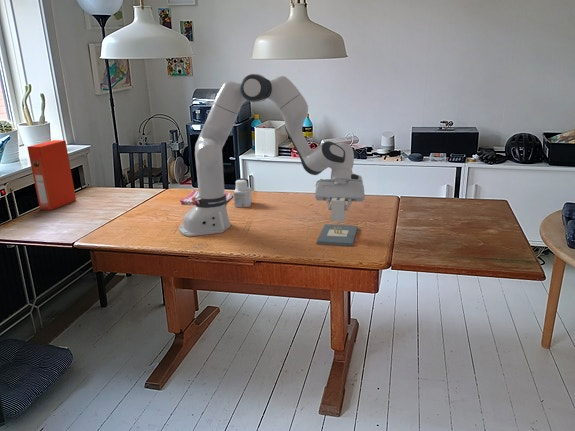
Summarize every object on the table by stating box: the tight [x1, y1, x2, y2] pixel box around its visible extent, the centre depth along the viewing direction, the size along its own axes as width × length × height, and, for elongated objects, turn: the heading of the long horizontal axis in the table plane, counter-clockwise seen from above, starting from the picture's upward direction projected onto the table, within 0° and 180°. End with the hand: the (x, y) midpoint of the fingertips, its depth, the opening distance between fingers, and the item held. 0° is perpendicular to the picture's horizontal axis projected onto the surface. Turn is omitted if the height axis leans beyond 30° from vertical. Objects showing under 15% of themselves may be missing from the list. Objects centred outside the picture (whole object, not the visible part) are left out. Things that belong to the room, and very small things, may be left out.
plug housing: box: [330, 198, 346, 223], centre depth 205 cm, size 4×5×9 cm
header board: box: [316, 223, 358, 247], centre depth 207 cm, size 20×14×4 cm
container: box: [233, 177, 253, 208], centre depth 251 cm, size 8×8×13 cm
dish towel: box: [179, 189, 234, 206], centre depth 262 cm, size 17×23×4 cm
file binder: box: [26, 139, 77, 211], centre depth 257 cm, size 8×17×32 cm, turn 161°
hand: (338, 209), depth 204 cm, fingers closed on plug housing, 5 cm apart
